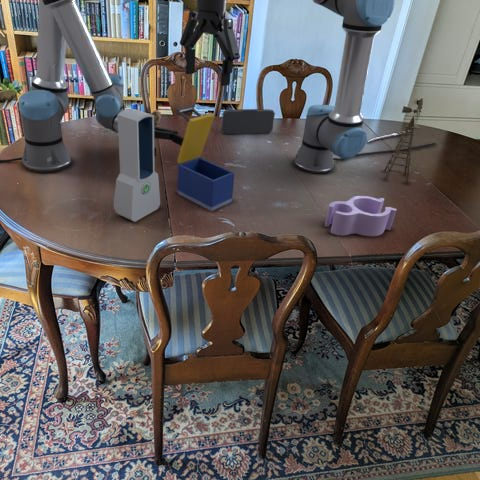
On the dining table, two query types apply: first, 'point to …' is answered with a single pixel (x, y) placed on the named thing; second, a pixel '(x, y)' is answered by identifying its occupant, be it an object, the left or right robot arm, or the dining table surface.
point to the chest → (205, 183)
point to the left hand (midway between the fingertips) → (171, 147)
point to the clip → (359, 216)
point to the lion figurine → (156, 117)
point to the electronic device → (136, 166)
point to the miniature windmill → (411, 127)
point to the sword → (385, 136)
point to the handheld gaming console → (247, 121)
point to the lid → (194, 134)
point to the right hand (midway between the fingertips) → (207, 79)
